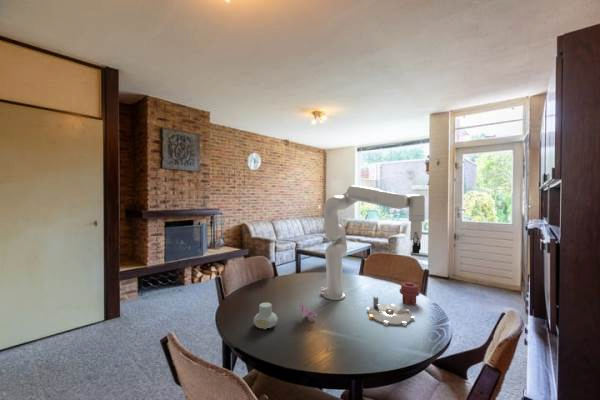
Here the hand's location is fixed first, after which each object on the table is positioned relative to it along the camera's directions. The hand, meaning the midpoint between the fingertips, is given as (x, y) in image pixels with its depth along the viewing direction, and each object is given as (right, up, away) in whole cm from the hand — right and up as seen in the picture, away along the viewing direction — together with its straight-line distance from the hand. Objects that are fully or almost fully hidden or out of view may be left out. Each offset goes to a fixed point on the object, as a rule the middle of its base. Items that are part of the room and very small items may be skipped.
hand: (416, 251), depth 143 cm
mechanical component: (-1, -31, +8) cm, 32 cm away
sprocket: (-16, -30, -8) cm, 35 cm away
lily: (-57, -32, -11) cm, 67 cm away
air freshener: (-76, -32, -15) cm, 84 cm away
